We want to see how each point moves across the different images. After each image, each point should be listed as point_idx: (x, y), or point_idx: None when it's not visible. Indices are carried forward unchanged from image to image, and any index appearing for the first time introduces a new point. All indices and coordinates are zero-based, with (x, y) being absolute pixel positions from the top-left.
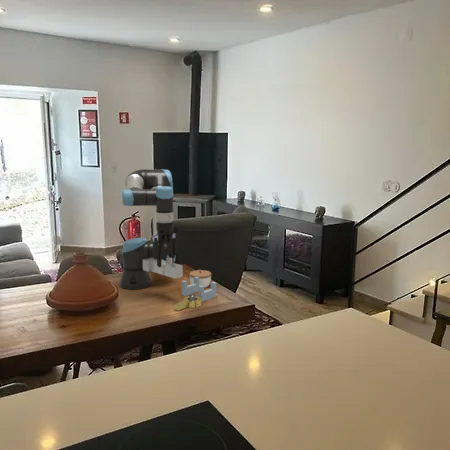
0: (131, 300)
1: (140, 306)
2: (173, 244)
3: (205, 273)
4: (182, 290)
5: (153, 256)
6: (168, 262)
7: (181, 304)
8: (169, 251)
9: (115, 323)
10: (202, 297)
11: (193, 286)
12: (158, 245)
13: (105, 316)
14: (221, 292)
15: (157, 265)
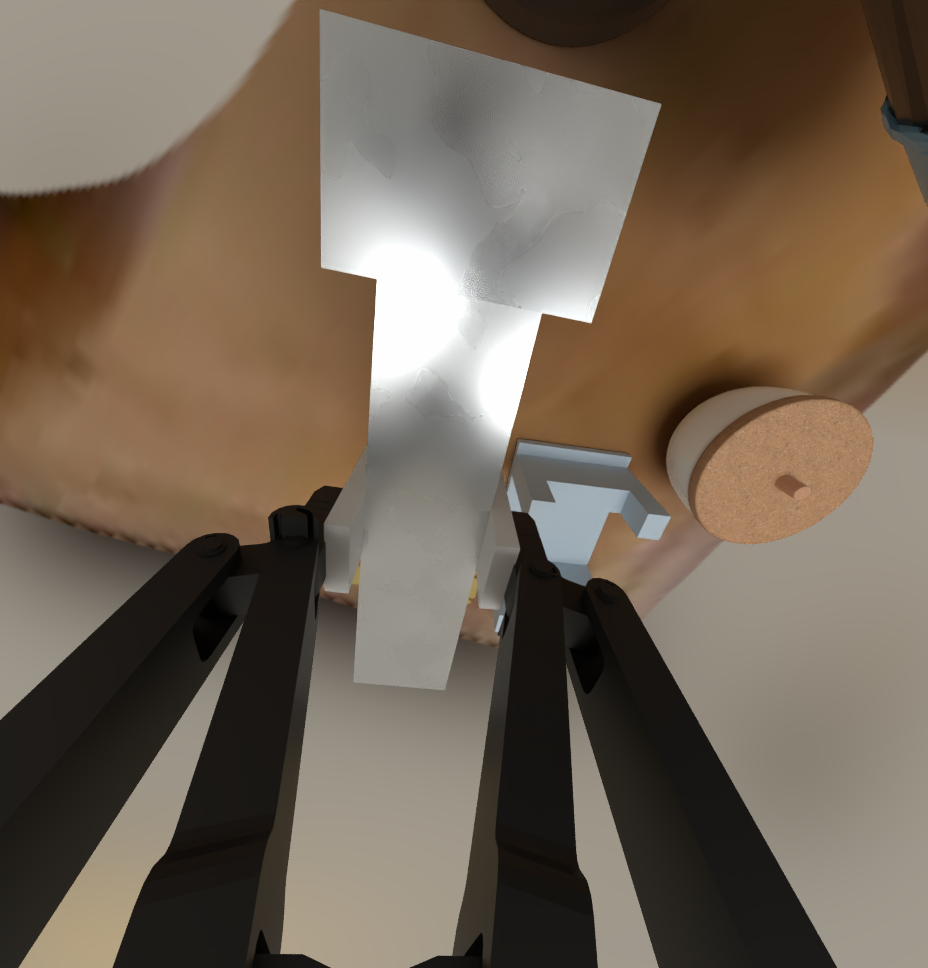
0: (276, 212)
1: (264, 356)
2: (639, 817)
3: (774, 516)
4: (520, 476)
5: (175, 568)
6: (458, 550)
7: (353, 583)
8: (501, 665)
9: (40, 422)
10: None
11: (590, 506)
12: (186, 799)
13: (5, 301)
14: (676, 548)
15: (314, 498)
